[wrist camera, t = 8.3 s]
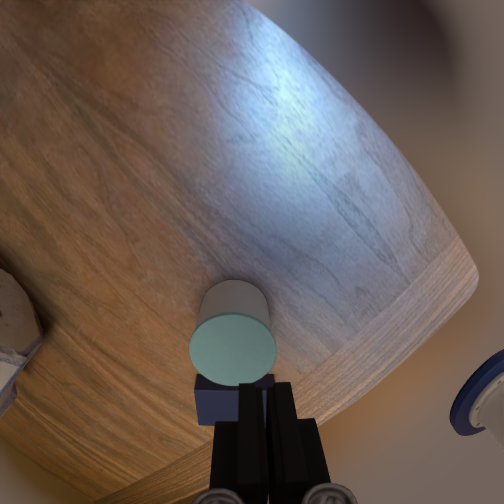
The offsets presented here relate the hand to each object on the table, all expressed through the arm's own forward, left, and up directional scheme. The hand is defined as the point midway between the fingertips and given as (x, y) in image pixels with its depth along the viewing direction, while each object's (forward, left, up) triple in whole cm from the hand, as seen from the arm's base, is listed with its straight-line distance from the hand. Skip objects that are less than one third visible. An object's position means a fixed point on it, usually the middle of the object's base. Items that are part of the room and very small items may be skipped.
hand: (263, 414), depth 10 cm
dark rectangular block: (+1, +19, -23) cm, 30 cm away
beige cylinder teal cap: (+2, +12, -21) cm, 24 cm away
